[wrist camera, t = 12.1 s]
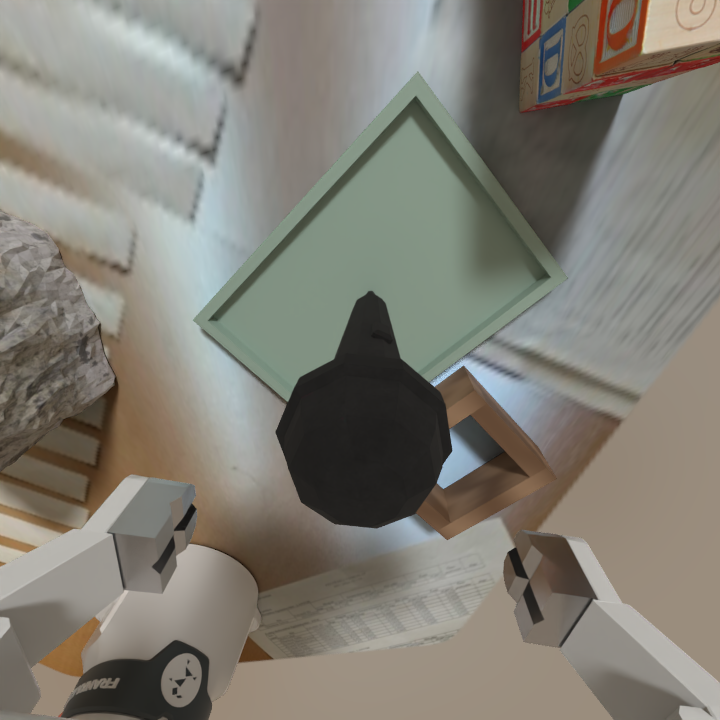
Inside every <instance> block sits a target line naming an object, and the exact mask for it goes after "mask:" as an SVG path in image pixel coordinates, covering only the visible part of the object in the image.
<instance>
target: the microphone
mask: <svg viewBox="0 0 720 720" xmlns="http://www.w3.org/2000/svg"><path fill="white" fill-rule="evenodd" d="M276 435H277V438H278V440H279V443H280V445H281V448H282V451H283V453H284V456H285V459H286V461H287V465H288V469H289V471H290V474H291V477H292V479H293V482H294V485H295V487H296V490H297V492H298V495H299V498H300V500H301V502H302V503H303V504H305V505H306V506H308V507H309V508H311V509H312V510H314V511H315V512H317V513H318V514H320V515H322V516H323V517H325V518H326V519H328V520H329V521H331V522H332V523H334V524H339V525H349V526H358V527H368V528H379V527H382V526H385V525H387V524H390V523H393V522H395V521H398V520H400V519H403V518H406V517H408V516H411V515H414V514H415V513H416V512H417V510H418V509H419V508H420V506H421V505H422V503H423V502H424V501H425V499H426V498H427V496H428V495H429V493H430V492H431V491H432V489H433V488H434V486H435V485H436V483H437V480H438V478H439V475H440V472H441V469H442V465H443V463H444V462H445V461H446V459H447V458H448V456H449V455H450V453H451V452H452V445H451V438H450V431H449V424H448V417H447V410H446V404H445V402H444V400H443V397H442V395H441V392H440V391H438V390H437V389H436V388H435V387H434V386H433V385H431V384H430V383H429V382H428V381H427V380H426V379H424V378H423V377H422V376H421V375H420V374H419V373H417V372H416V371H415V370H414V369H413V368H412V367H410V366H409V365H408V364H407V363H406V362H404V361H403V360H402V359H401V358H400V354H399V350H398V347H397V343H396V339H395V336H394V332H393V328H392V324H391V321H390V317H389V313H388V310H387V306H386V303H385V302H384V301H383V299H382V298H380V297H379V296H377V295H375V293H374V292H373V291H368V292H367V294H366V295H364V296H363V297H361V298H359V299H357V301H356V303H355V305H354V307H353V310H352V312H351V315H350V318H349V320H348V323H347V326H346V328H345V331H344V334H343V336H342V339H341V342H340V344H339V347H338V350H337V352H336V355H335V358H334V360H332V361H330V362H328V363H326V364H324V365H322V366H320V367H318V368H316V369H314V370H312V371H311V372H309V373H307V374H305V375H303V376H301V377H299V379H298V381H297V383H296V385H295V387H294V389H293V391H292V394H291V396H290V399H289V401H288V403H287V406H286V408H285V411H284V413H283V415H282V418H281V420H280V423H279V425H278V427H277V430H276Z"/></svg>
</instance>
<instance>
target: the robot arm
mask: <svg viewBox="0 0 720 720" xmlns="http://www.w3.org/2000/svg"><path fill="white" fill-rule="evenodd" d="M195 496H196V493H195V486H194V485H192V484H187V483H181V482H175V481H169V480H163V479H157V478H150V477H143V476H137V475H130V476H128V477H126V478H125V479H124V480H123V481H122V482H121V483H120V484H119V485H118V487H117V488H116V489H115V490H114V491H113V492H112V494H111V495H110V496H109V497H108V498H107V499H106V500H105V502H104V503H103V504H102V505H101V506H100V507H99V509H98V510H97V511H96V512H95V513H94V514H93V516H92V517H91V518H90V519H89V520H88V521H87V523H86V524H85V525H84V526H83V527H82V528H81V529H72V530H70V531H69V532H67V533H65V534H63V535H61V536H59V537H57V538H55V539H53V540H51V541H49V542H47V543H45V544H44V545H42V546H40V547H38V548H36V549H34V550H32V551H30V552H28V553H26V554H24V555H22V556H20V557H19V558H17V559H15V560H13V561H11V562H9V563H7V564H5V565H3V566H1V567H0V720H208V718H209V716H210V713H211V710H212V702H213V701H214V700H217V699H218V698H220V697H221V696H222V695H224V694H225V693H226V691H227V690H228V687H229V685H230V682H231V680H232V677H233V674H234V672H235V669H236V666H237V664H238V661H239V658H240V655H241V653H242V650H243V647H244V644H245V642H246V639H247V636H248V634H249V633H250V632H253V631H255V630H257V629H258V628H259V625H260V623H261V620H262V617H261V614H260V612H259V610H258V608H257V600H258V587H257V584H256V582H255V580H254V578H253V576H252V575H251V574H250V572H249V571H248V570H247V569H246V568H245V567H244V566H243V565H242V564H240V563H239V562H238V561H236V560H235V559H233V558H232V557H230V556H228V555H226V554H224V553H222V552H220V551H217V550H215V549H212V548H208V547H205V546H200V545H195V544H189V542H190V540H191V538H192V535H193V532H194V529H195V526H196V519H197V509H196V508H195V507H194V505H193V504H192V501H193V500H194V498H195ZM514 543H515V545H516V548H514V549H512V550H511V551H509V552H508V553H507V556H506V558H505V560H504V570H503V574H504V581H505V585H506V588H507V592H508V594H509V595H510V596H511V597H512V598H513V599H514V600H515V601H516V602H517V605H516V608H515V610H514V614H515V617H516V620H517V623H518V626H519V629H520V632H521V635H522V638H523V641H524V642H527V643H533V644H539V645H545V646H551V647H558V648H561V649H560V651H561V652H562V654H563V655H564V656H565V658H566V659H567V660H568V661H569V663H570V664H571V665H572V667H573V668H574V669H575V670H576V672H577V673H578V674H579V676H580V677H581V678H582V679H583V681H584V682H585V683H586V684H587V686H588V687H589V688H590V689H591V691H592V692H593V694H594V695H595V696H596V697H597V699H598V700H599V701H600V703H601V704H602V705H603V706H604V708H605V709H606V710H607V711H608V713H609V714H610V715H611V717H612V718H613V719H614V720H720V683H719V682H718V681H717V680H716V679H715V678H713V677H712V676H711V675H710V674H709V673H708V672H707V671H705V670H704V669H703V668H702V667H701V666H699V664H697V663H696V662H695V661H694V660H692V658H690V657H689V656H688V655H687V654H686V653H685V652H683V651H682V650H681V649H680V648H679V647H678V646H676V645H675V644H674V643H673V642H672V641H671V640H670V639H668V638H667V637H666V636H665V635H664V634H663V633H661V632H660V631H659V630H658V629H657V628H656V627H654V626H653V625H652V624H651V623H650V622H649V621H647V620H646V619H645V618H644V617H643V616H642V615H641V614H639V613H638V612H637V611H636V610H635V609H634V608H632V607H631V606H630V605H629V604H623V603H622V602H621V600H620V598H619V597H618V595H617V593H616V592H615V590H614V588H613V587H612V585H611V583H610V581H609V580H608V578H607V576H606V575H605V573H604V571H603V569H602V568H601V566H600V565H599V563H598V561H597V559H596V558H595V556H594V554H593V553H592V551H591V549H590V548H589V546H588V544H587V543H586V542H585V541H584V540H583V539H582V538H578V537H570V536H563V535H561V536H560V535H556V534H549V533H541V532H533V531H525V530H520V531H519V532H518V533H517V534H516V536H515V538H514ZM94 616H95V617H96V618H97V619H98V620H99V621H100V623H99V625H98V626H97V628H96V630H95V631H94V633H93V634H92V636H91V637H90V639H89V641H88V642H87V644H86V646H85V647H84V649H83V651H82V653H81V657H82V663H83V673H84V674H83V675H82V677H81V678H80V679H79V681H78V683H77V685H76V687H75V689H74V691H73V692H72V693H71V695H70V696H69V698H68V700H67V702H66V704H65V706H64V711H63V712H62V713H61V714H60V715H59V716H58V717H53V716H46V715H38V714H30V713H31V712H32V710H33V708H34V707H35V705H36V704H37V702H38V701H39V699H40V697H41V695H40V688H39V685H38V683H37V681H36V679H35V676H34V674H33V672H32V670H31V668H32V667H33V666H34V665H35V664H37V663H38V662H39V661H40V660H42V659H43V658H44V657H45V656H46V655H48V654H49V653H50V652H51V651H53V650H54V649H55V648H56V647H58V646H59V645H60V644H61V643H62V642H64V641H65V640H66V639H67V638H69V637H70V636H71V635H72V634H73V633H75V632H76V631H77V630H78V629H80V628H81V627H82V626H83V625H85V624H86V623H87V622H88V621H89V620H91V619H92V618H93V617H94Z"/></svg>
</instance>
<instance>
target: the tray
mask: <svg viewBox="0 0 720 720" xmlns="http://www.w3.org/2000/svg"><path fill="white" fill-rule="evenodd" d="M566 279H568V277H567V276H566V275H565V273H564V272H563V270H562V269H561V268H560V266H559V265H558V264H557V262H556V261H555V259H554V258H553V257H552V255H551V254H550V253H549V251H548V250H547V248H546V247H545V246H544V244H543V243H542V242H541V240H540V239H539V237H538V236H537V235H536V233H535V232H534V231H533V229H532V228H531V226H530V225H529V224H528V222H527V221H526V219H525V218H524V217H523V215H522V214H521V213H520V211H519V210H518V208H517V207H516V206H515V204H514V203H513V202H512V200H511V199H510V197H509V196H508V195H507V193H506V192H505V191H504V189H503V188H502V186H501V185H500V184H499V182H498V181H497V180H496V178H495V177H494V175H493V174H492V173H491V171H490V170H489V169H488V167H487V166H486V164H485V163H484V162H483V160H482V159H481V158H480V156H479V155H478V153H477V152H476V151H475V149H474V148H473V146H472V145H471V144H470V142H469V141H468V140H467V138H466V137H465V135H464V134H463V133H462V131H461V130H460V129H459V127H458V126H457V124H456V123H455V122H454V120H453V119H452V118H451V116H450V115H449V113H448V112H447V111H446V109H445V108H444V107H443V105H442V104H441V102H440V101H439V100H438V98H437V97H436V96H435V94H434V93H433V91H432V90H431V89H430V87H429V86H428V85H427V83H426V82H425V80H424V79H423V78H422V76H421V75H420V73H419V72H417V73H416V74H415V75H414V76H413V77H412V78H411V79H410V80H409V82H408V83H407V84H406V85H405V86H404V87H403V88H402V89H401V90H400V92H399V93H398V94H397V95H396V96H395V97H394V98H393V99H392V100H391V101H390V103H389V104H388V105H387V106H386V107H385V108H384V109H383V110H382V111H381V113H380V114H379V115H378V116H377V117H376V118H375V119H374V120H373V121H372V123H371V124H370V125H369V126H368V127H367V128H366V129H365V130H364V131H363V132H362V134H361V135H360V136H359V137H358V138H357V139H356V140H355V141H354V142H353V144H352V145H351V146H350V147H349V148H348V149H347V150H346V151H345V152H344V153H343V155H342V156H341V157H340V158H339V159H338V160H337V161H336V162H335V163H334V165H333V166H332V167H331V168H330V169H329V170H328V171H327V172H326V173H325V174H324V176H323V177H322V178H321V179H320V180H319V181H318V182H317V183H316V184H315V186H314V187H313V188H312V189H311V190H310V191H309V192H308V193H307V194H306V195H305V197H304V198H303V199H302V200H301V201H300V202H299V203H298V204H297V205H296V207H295V208H294V209H293V210H292V211H291V212H290V213H289V214H288V215H287V216H286V218H285V219H284V220H283V221H282V222H281V223H280V224H279V225H278V226H277V228H276V229H275V230H274V231H273V232H272V233H271V234H270V235H269V236H268V238H267V239H266V240H265V241H264V242H263V243H262V244H261V245H260V246H259V247H258V249H257V250H256V251H255V252H254V253H253V254H252V255H251V256H250V257H249V259H248V260H247V261H246V262H245V263H244V264H243V265H242V266H241V267H240V268H239V270H238V271H237V272H236V273H235V274H234V275H233V276H232V277H231V278H230V280H229V281H228V282H227V283H226V284H225V285H224V286H223V287H222V288H221V289H220V291H219V292H218V293H217V294H216V295H215V296H214V297H213V298H212V299H211V301H210V302H209V303H208V304H207V305H206V306H205V307H204V308H203V309H202V310H201V312H200V313H199V314H198V315H197V316H196V317H195V318H194V319H193V321H194V322H196V323H197V324H198V325H199V326H200V327H201V328H203V329H204V330H205V331H206V332H207V333H208V334H209V335H211V336H212V337H213V338H214V339H215V340H216V341H218V342H219V343H220V344H221V345H222V346H223V347H225V348H226V349H227V350H228V351H229V352H230V353H231V354H233V355H234V356H235V357H236V358H237V359H238V360H240V361H241V362H242V363H243V364H244V365H245V366H247V367H248V368H249V369H250V370H251V371H252V372H253V373H255V374H256V375H257V376H258V377H259V378H260V379H262V380H263V381H264V382H265V383H266V384H267V385H269V386H270V387H271V388H272V389H273V390H274V391H275V392H277V393H278V394H279V395H280V396H281V397H282V398H284V399H285V400H286V401H287V402H288V401H289V399H290V396H291V394H292V391H293V389H294V387H295V385H296V383H297V381H298V379H299V377H301V376H303V375H305V374H307V373H309V372H311V371H312V370H314V369H316V368H318V367H320V366H322V365H324V364H326V363H328V362H330V361H332V360H334V358H335V355H336V352H337V350H338V347H339V344H340V342H341V339H342V336H343V334H344V331H345V328H346V326H347V323H348V320H349V318H350V315H351V312H352V310H353V307H354V305H355V303H356V301H357V299H359V298H361V297H363V296H364V295H366V294H367V292H368V291H373V292H374V293H375V295H377V296H379V297H380V298H382V299H383V301H384V302H385V303H386V306H387V310H388V313H389V317H390V321H391V324H392V328H393V332H394V336H395V339H396V343H397V347H398V350H399V354H400V358H401V359H402V360H403V361H404V362H406V363H407V364H408V365H409V366H410V367H412V368H413V369H414V370H415V371H416V372H417V373H419V374H420V375H421V376H422V377H423V378H424V379H426V380H427V381H428V382H430V381H431V380H432V379H434V378H435V377H436V376H438V375H439V374H440V373H442V372H443V371H444V370H446V369H447V368H448V367H450V366H451V365H452V364H454V363H455V362H456V361H458V360H459V359H460V358H462V357H463V356H464V355H466V354H467V353H468V352H470V351H471V350H472V349H474V348H475V347H476V346H478V345H479V344H480V343H482V342H483V341H484V340H486V339H487V338H489V337H490V336H491V335H493V334H494V333H495V332H497V331H498V330H499V329H501V328H502V327H503V326H505V325H506V324H507V323H509V322H510V321H511V320H513V319H514V318H515V317H517V316H518V315H519V314H521V313H522V312H523V311H525V310H526V309H527V308H529V307H530V306H531V305H533V304H534V303H535V302H537V301H538V300H539V299H541V298H542V297H543V296H545V295H546V294H547V293H549V292H550V291H551V290H553V289H554V288H555V287H557V286H558V285H559V284H561V283H562V282H563V281H565V280H566Z"/></svg>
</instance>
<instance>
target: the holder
mask: <svg viewBox="0 0 720 720" xmlns="http://www.w3.org/2000/svg"><path fill="white" fill-rule="evenodd" d="M435 388H436V389H437V390H438V391H440V392H441V395H442V397H443V400H444V402H445V404H446V410H447V417H448V424H449V429H450V428H451V427H453V426H454V425H456V424H457V423H459V422H460V421H462V420H463V419H465V418H466V417H468V416H469V415H471V416H472V417H473V418H474V419H475V420H476V421H477V422H478V423H479V424H480V425H481V427H482V428H483V429H484V430H485V431H486V432H487V433H488V434H489V435H490V436H491V437H492V438H493V439H494V440H495V441H496V442H497V443H498V444H499V445H500V446H501V447H502V448H503V449H504V451H505V452H504V453H502V454H500V455H499V456H497V457H495V458H494V459H492V460H491V461H489V462H487V463H486V464H484V465H482V466H481V467H479V468H478V469H476V470H474V471H473V472H471V473H469V474H468V475H466V476H465V477H463V478H461V479H460V480H458V481H457V482H455V483H453V484H452V485H450V486H448V487H447V488H445V489H444V490H443V489H442V488H441V487H440V486H439V485H438V484H437V483H436V485H435V486H434V488H433V489H432V491H431V492H430V493H429V495H428V496H427V498H426V499H425V501H424V502H423V503H422V505H421V506H420V508H419V509H418V510H417V512H416V514H418V515H419V516H420V517H421V518H422V519H423V520H425V521H426V522H427V523H428V524H429V525H430V526H431V527H433V528H434V529H435V530H436V531H437V532H438V533H440V534H441V535H442V536H443V537H444V538H445V539H447V540H449V539H450V538H452V537H454V536H456V535H457V534H459V533H461V532H463V531H465V530H466V529H468V528H470V527H472V526H474V525H475V524H477V523H479V522H481V521H482V520H484V519H486V518H488V517H490V516H491V515H493V514H495V513H497V512H499V511H500V510H502V509H504V508H506V507H508V506H509V505H511V504H513V503H515V502H516V501H518V500H520V499H522V498H524V497H525V496H527V495H529V494H531V493H533V492H534V491H536V490H538V489H540V488H541V487H543V486H545V485H547V484H549V483H550V482H552V481H554V480H556V479H557V478H556V476H555V475H554V473H553V471H552V470H551V468H550V466H549V465H548V463H547V461H546V460H545V458H544V456H543V454H542V453H541V451H540V449H539V448H538V446H537V445H536V444H535V443H534V442H533V441H532V440H531V439H530V438H529V437H528V435H527V434H526V433H525V432H524V431H523V430H522V429H521V428H520V427H519V426H518V425H517V423H516V422H515V421H514V420H513V419H512V418H511V417H510V416H509V415H508V414H507V413H506V411H505V410H504V409H503V408H502V407H501V406H500V405H499V404H498V403H497V402H496V400H495V399H494V398H493V397H492V396H491V395H490V394H489V393H488V392H487V391H486V390H485V388H484V387H483V386H482V385H481V384H480V383H479V382H478V381H477V380H476V379H475V377H474V376H473V375H472V374H471V373H470V372H469V371H468V370H467V369H466V368H465V367H464V366H463V367H461V368H460V369H458V370H457V371H456V372H454V373H453V374H452V375H450V376H449V377H448V378H446V379H445V380H444V381H442V382H441V383H439V384H438V385H437V386H435Z"/></svg>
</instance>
